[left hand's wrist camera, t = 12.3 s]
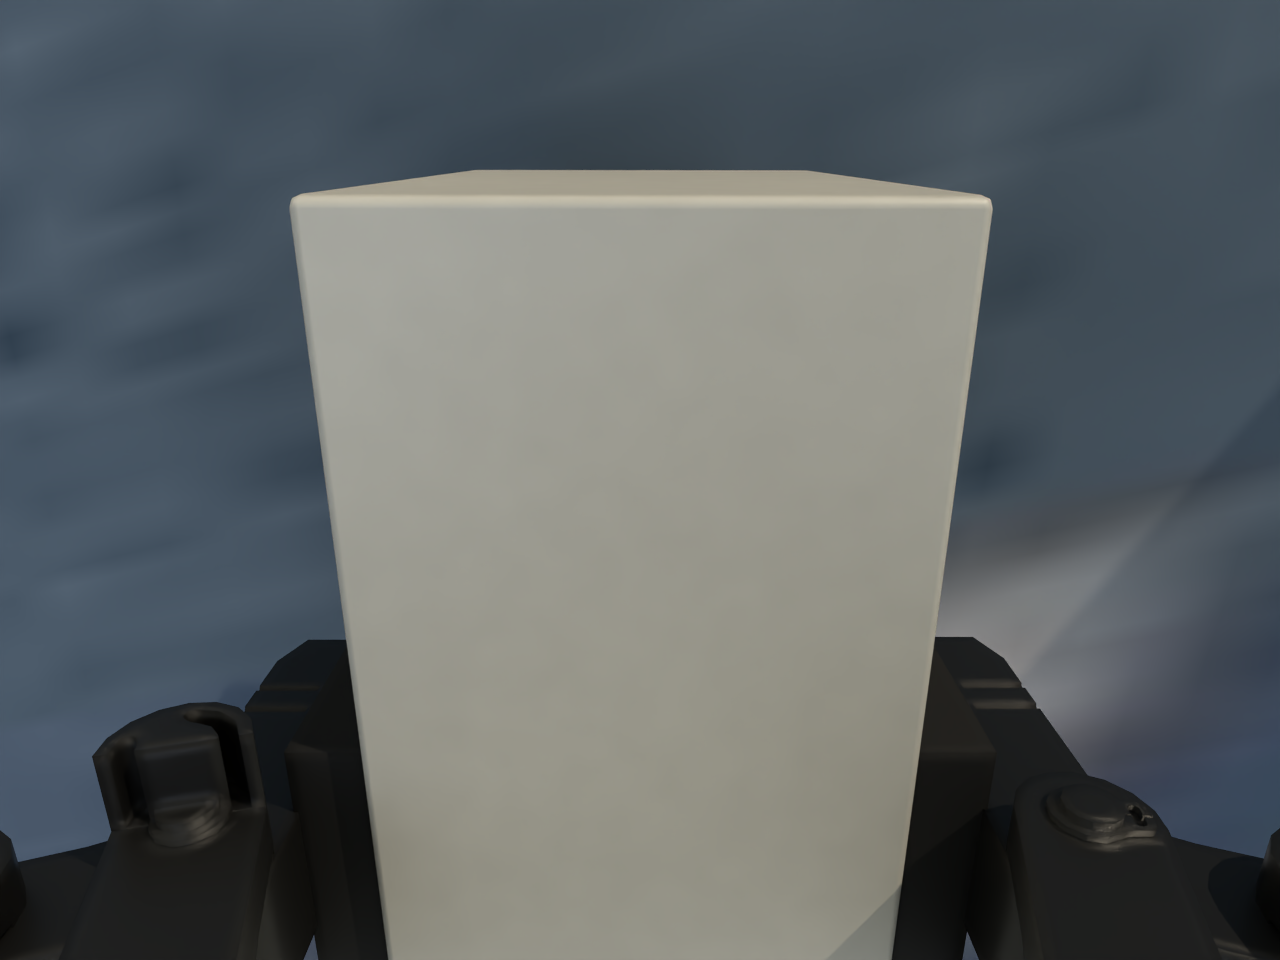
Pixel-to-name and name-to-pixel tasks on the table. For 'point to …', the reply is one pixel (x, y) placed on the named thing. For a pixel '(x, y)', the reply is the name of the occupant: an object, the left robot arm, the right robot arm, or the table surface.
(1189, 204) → the table surface
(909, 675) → the post
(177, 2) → the table surface
